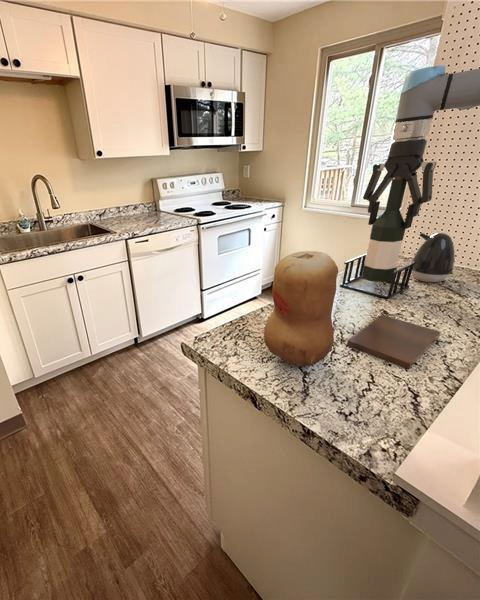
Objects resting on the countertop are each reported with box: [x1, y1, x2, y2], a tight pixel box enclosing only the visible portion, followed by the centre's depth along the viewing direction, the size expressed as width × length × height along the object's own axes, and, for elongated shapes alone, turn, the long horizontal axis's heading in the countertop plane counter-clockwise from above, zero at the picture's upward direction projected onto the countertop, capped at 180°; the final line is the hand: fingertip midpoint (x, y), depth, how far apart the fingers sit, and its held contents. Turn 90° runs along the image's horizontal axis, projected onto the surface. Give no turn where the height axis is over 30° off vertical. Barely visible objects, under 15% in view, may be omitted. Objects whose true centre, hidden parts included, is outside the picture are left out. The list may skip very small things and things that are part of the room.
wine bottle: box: [361, 176, 407, 283], centre depth 91 cm, size 8×8×30 cm
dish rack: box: [339, 253, 416, 300], centre depth 98 cm, size 14×14×8 cm
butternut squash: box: [263, 250, 339, 367], centre depth 65 cm, size 14×13×25 cm
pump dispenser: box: [410, 232, 456, 283], centre depth 97 cm, size 10×10×15 cm
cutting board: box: [346, 314, 442, 370], centre depth 72 cm, size 18×12×2 cm, turn 125°
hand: (388, 225), depth 91 cm, fingers closed on wine bottle, 8 cm apart
